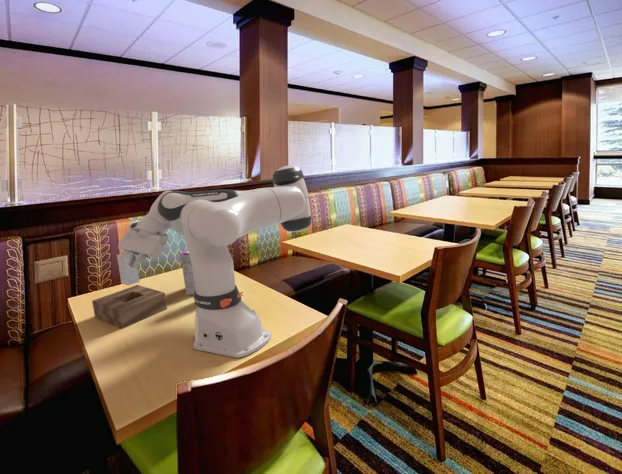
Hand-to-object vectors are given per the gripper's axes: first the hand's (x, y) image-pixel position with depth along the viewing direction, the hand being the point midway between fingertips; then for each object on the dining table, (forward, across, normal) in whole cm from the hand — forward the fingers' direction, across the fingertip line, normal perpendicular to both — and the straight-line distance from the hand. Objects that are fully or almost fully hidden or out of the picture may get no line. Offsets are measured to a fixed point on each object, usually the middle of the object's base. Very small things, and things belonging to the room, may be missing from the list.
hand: (128, 265), depth 122 cm
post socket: (+13, -1, -10) cm, 16 cm away
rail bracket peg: (+4, 0, -4) cm, 6 cm away
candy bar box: (-5, -4, -28) cm, 28 cm away
